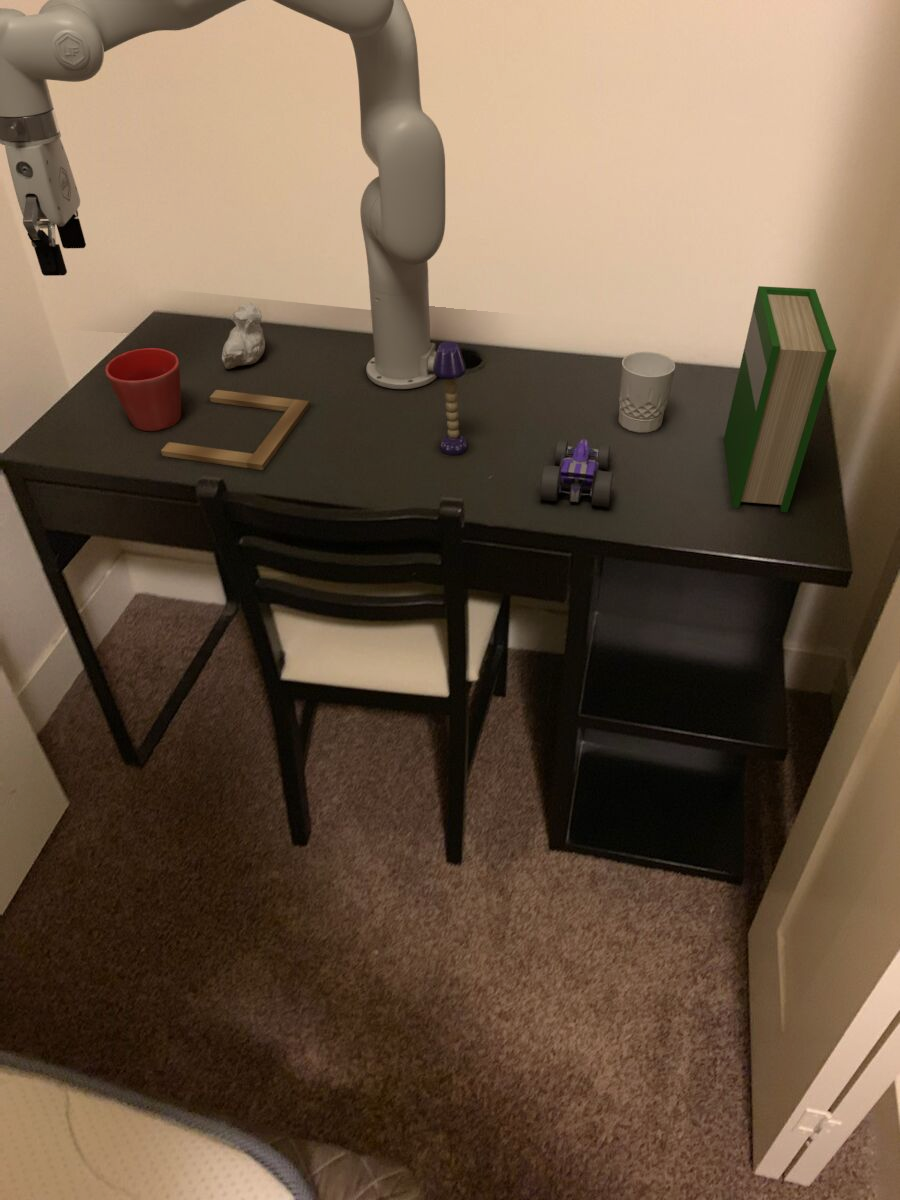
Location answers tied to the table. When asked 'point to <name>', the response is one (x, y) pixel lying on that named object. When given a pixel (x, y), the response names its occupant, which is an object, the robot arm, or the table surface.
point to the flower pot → (147, 387)
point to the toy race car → (578, 473)
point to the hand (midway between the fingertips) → (65, 260)
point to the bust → (244, 338)
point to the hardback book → (777, 395)
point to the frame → (268, 446)
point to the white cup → (644, 390)
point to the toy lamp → (451, 394)
